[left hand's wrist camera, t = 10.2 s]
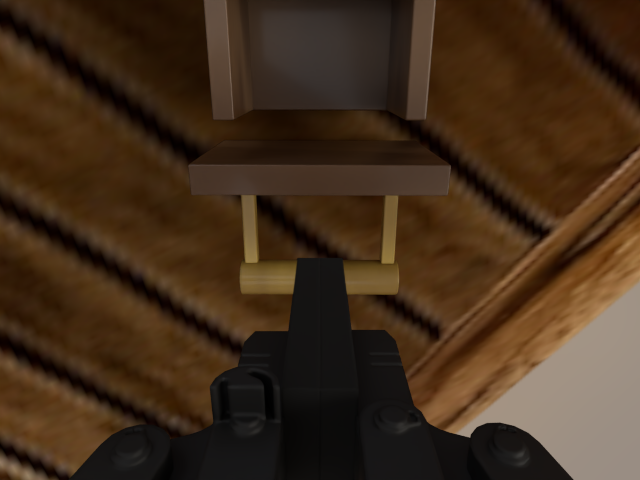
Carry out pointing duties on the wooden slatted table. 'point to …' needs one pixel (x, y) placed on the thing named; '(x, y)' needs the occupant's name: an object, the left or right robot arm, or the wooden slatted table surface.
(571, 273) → the wooden slatted table surface
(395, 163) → the drawer
